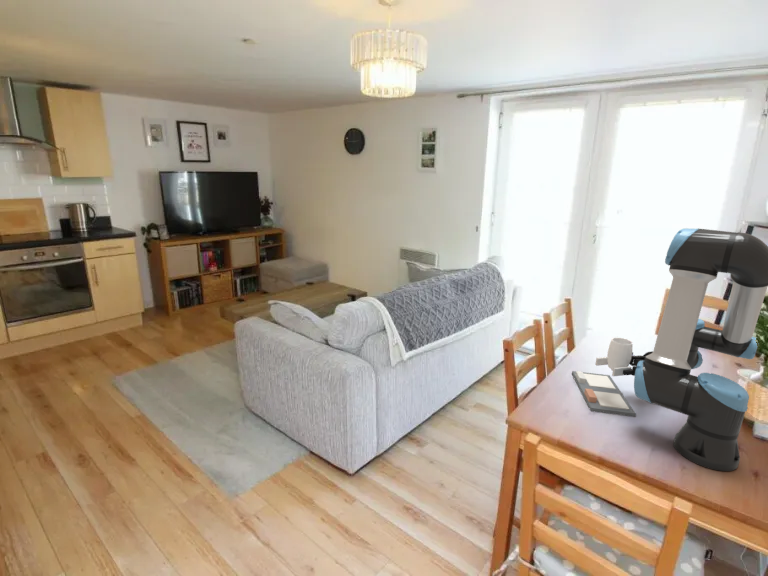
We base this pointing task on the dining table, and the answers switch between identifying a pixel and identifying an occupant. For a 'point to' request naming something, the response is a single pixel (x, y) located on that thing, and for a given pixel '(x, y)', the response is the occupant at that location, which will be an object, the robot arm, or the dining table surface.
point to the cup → (619, 353)
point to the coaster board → (602, 394)
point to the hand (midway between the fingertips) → (605, 366)
